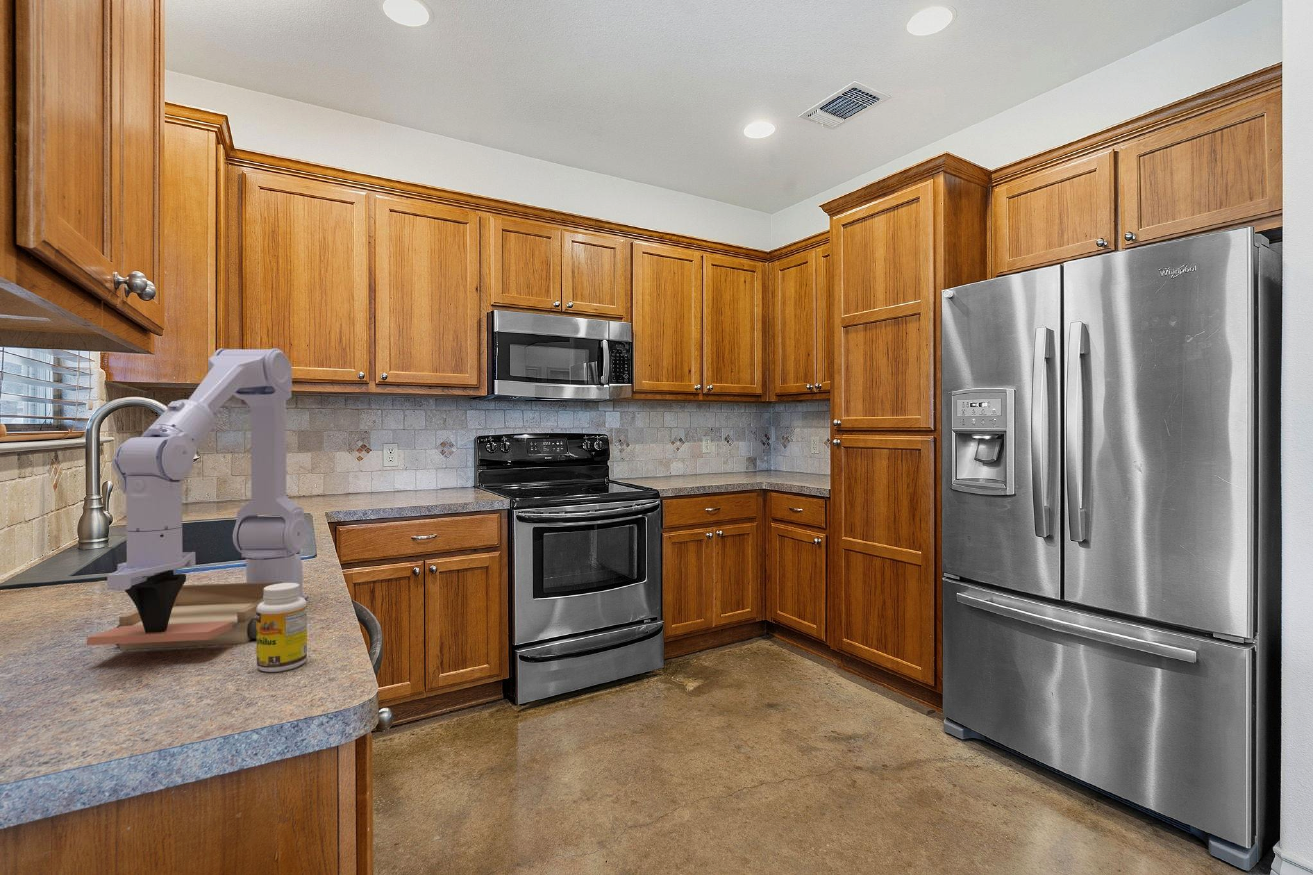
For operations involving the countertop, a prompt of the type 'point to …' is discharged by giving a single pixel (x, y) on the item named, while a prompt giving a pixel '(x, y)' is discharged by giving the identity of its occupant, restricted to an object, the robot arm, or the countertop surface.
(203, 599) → the truck bed
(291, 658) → the supplement bottle
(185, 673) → the countertop surface
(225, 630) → the panel
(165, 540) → the robot arm
